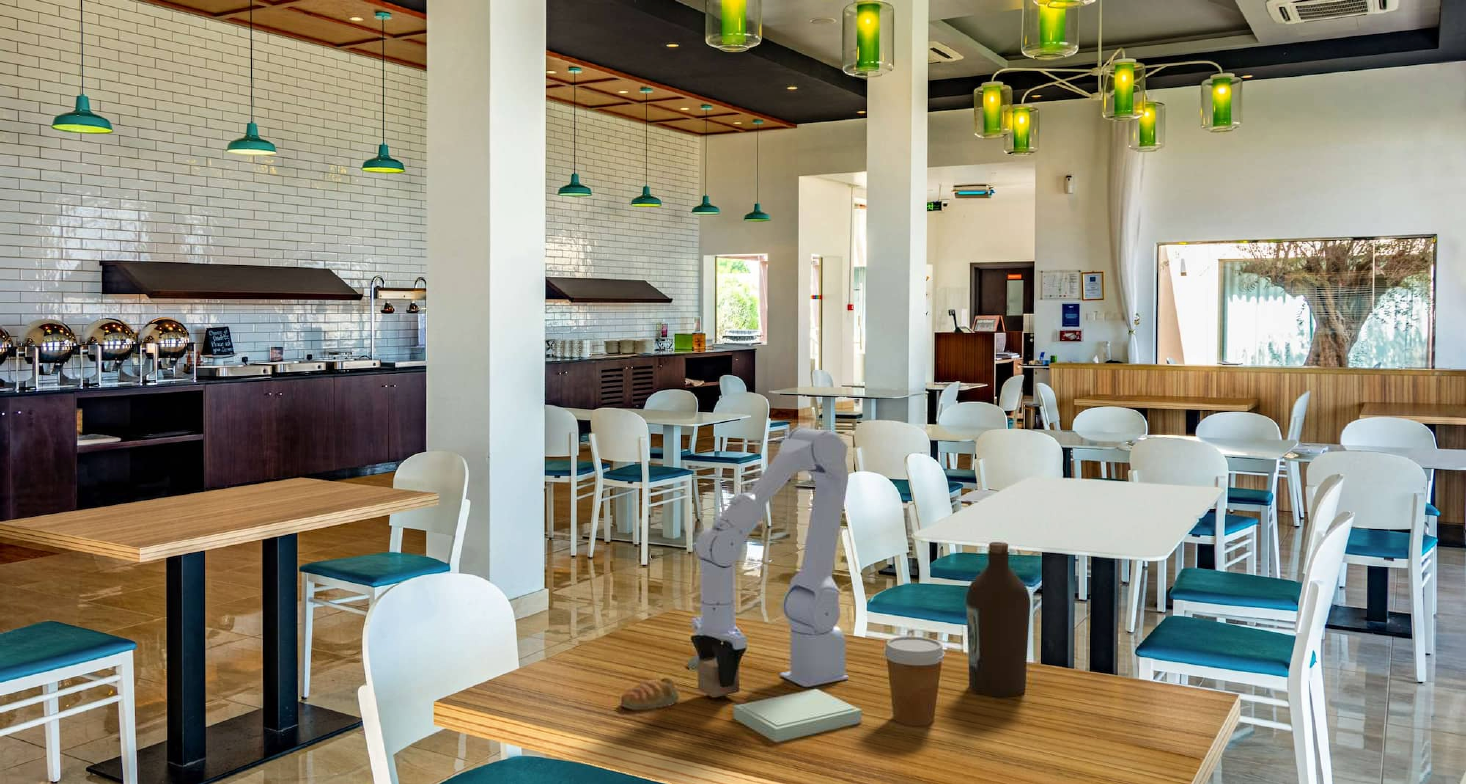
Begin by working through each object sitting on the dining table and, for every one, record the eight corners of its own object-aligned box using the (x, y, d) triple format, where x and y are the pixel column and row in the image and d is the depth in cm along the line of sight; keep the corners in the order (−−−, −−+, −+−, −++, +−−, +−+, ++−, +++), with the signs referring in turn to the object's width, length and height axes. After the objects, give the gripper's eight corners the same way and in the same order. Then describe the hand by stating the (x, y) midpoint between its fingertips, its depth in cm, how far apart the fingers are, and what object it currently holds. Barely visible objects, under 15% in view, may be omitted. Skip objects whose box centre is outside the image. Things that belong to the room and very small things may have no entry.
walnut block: (723, 684, 182) (723, 655, 182) (739, 692, 178) (738, 662, 178) (698, 689, 180) (697, 660, 180) (713, 697, 176) (712, 667, 175)
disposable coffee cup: (907, 734, 162) (908, 655, 162) (871, 714, 171) (871, 640, 170) (957, 723, 167) (957, 647, 166) (919, 705, 175) (920, 632, 175)
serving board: (816, 700, 177) (816, 687, 177) (861, 722, 167) (861, 708, 167) (733, 718, 169) (733, 704, 169) (776, 742, 159) (776, 728, 159)
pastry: (635, 716, 171) (635, 693, 170) (611, 706, 176) (611, 683, 176) (682, 703, 177) (682, 680, 177) (657, 694, 182) (657, 671, 182)
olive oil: (1022, 679, 188) (1024, 538, 187) (1035, 699, 178) (1036, 550, 177) (961, 678, 189) (962, 537, 188) (970, 698, 179) (971, 549, 177)
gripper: (675, 595, 182) (676, 674, 183) (719, 613, 170) (720, 698, 171) (711, 590, 186) (712, 667, 187) (756, 607, 174) (757, 690, 174)
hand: (718, 681), depth 179 cm, fingers closed on walnut block, 5 cm apart
